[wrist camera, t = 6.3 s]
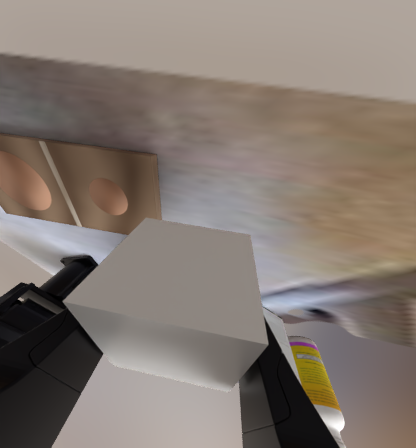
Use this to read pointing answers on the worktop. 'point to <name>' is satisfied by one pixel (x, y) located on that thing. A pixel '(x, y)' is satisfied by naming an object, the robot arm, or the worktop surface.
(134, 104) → the worktop surface
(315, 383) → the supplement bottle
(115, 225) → the board
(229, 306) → the block
